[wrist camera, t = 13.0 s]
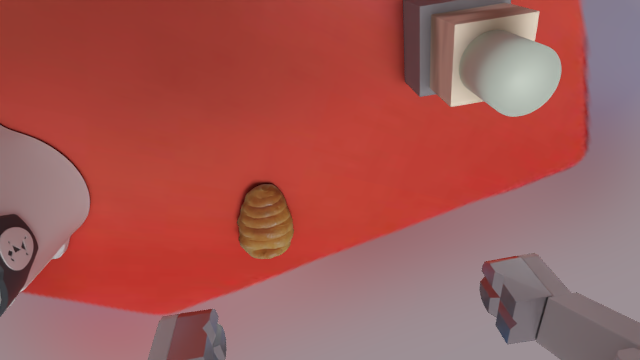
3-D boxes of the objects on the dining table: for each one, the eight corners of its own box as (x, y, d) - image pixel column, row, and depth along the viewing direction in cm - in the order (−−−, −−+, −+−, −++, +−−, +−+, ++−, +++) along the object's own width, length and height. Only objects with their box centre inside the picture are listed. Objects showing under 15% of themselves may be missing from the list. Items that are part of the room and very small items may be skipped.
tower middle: (429, 87, 37) (450, 106, 32) (431, 14, 33) (454, 24, 29) (496, 76, 37) (526, 94, 32) (505, 2, 33) (539, 11, 29)
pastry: (234, 181, 45) (231, 200, 42) (292, 179, 46) (294, 197, 43) (241, 243, 50) (239, 264, 47) (293, 240, 51) (295, 260, 48)
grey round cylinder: (455, 96, 32) (484, 120, 28) (462, 33, 29) (495, 48, 25) (514, 90, 32) (551, 112, 28) (526, 26, 29) (569, 40, 25)
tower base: (404, 81, 41) (419, 96, 37) (402, -1, 37) (419, 6, 33) (477, 68, 41) (501, 82, 37) (484, -15, 37) (512, -9, 33)
